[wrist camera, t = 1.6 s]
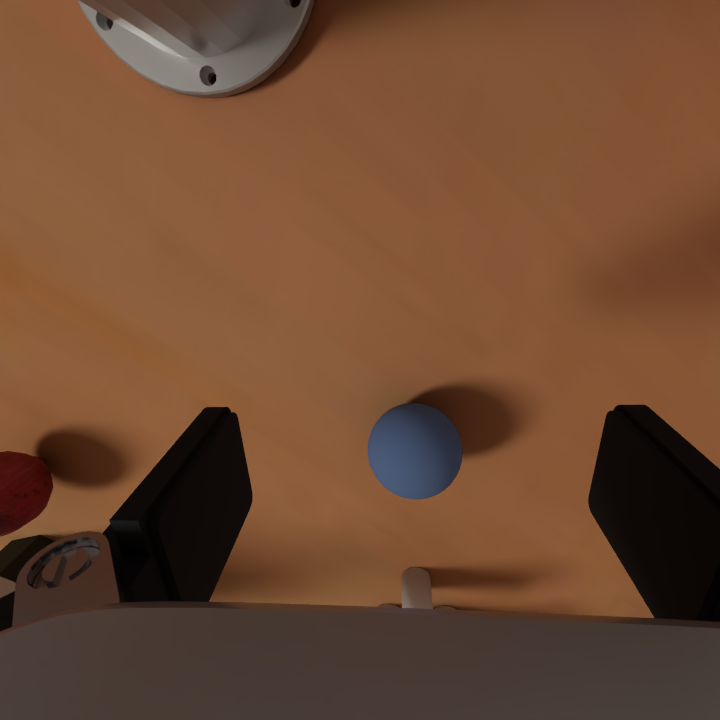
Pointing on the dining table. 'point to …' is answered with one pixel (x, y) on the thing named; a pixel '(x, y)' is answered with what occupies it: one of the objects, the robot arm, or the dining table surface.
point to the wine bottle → (18, 560)
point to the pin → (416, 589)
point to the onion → (22, 489)
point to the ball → (415, 451)
